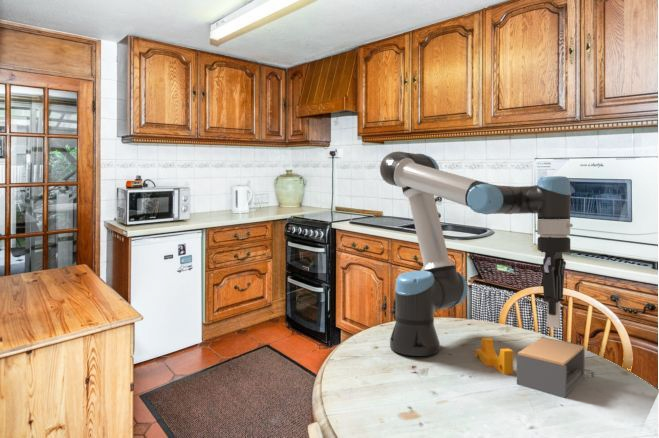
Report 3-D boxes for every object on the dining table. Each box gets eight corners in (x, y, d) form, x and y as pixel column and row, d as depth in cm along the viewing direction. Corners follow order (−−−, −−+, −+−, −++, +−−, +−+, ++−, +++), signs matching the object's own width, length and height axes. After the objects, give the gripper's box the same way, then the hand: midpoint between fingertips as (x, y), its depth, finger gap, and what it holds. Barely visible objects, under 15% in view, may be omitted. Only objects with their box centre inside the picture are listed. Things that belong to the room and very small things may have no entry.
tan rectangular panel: (518, 355, 103) (518, 352, 103) (542, 339, 116) (542, 336, 116) (563, 366, 96) (563, 362, 96) (584, 348, 108) (584, 345, 108)
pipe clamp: (475, 359, 121) (475, 338, 121) (489, 359, 122) (489, 337, 122) (498, 375, 109) (498, 351, 109) (513, 374, 110) (513, 350, 110)
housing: (516, 384, 104) (516, 354, 103) (539, 366, 115) (540, 340, 115) (565, 397, 96) (565, 366, 96) (584, 377, 108) (584, 349, 108)
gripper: (562, 237, 99) (562, 334, 99) (576, 235, 108) (576, 324, 108) (529, 236, 104) (529, 328, 104) (546, 234, 113) (546, 319, 114)
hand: (553, 326), depth 106 cm, fingers closed
